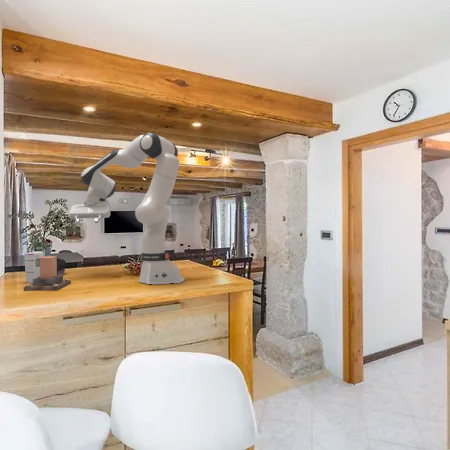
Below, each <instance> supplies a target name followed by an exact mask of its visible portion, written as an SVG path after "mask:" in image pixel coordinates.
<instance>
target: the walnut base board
mask: <svg viewBox="0 0 450 450" xmlns="http://www.w3.org/2000/svg"><path fill="white" fill-rule="evenodd" d="M71 284H72V281H71V280H70V278H65V279H64V274H63V275H57V277H55V278H53V279H40V277H37V278H34V279H33V283H28V284H25V285H24V287H23V292H27V291H29V292H32V291H34V292H35V291H36V292H37V291H38V292H39V291H43V292H44V291H60V290H61V289H63V288H65V287H67V286H69V285H71Z"/></svg>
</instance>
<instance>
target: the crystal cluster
mask: <svg viewBox="0 0 450 450" xmlns="http://www.w3.org/2000/svg"><path fill="white" fill-rule="evenodd" d="M66 267H67V261H66V260H65V259H64V258H62V259H61V258H59V257H57V275H63V276H64V274H65V271H66Z"/></svg>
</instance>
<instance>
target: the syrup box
mask: <svg viewBox="0 0 450 450" xmlns="http://www.w3.org/2000/svg"><path fill="white" fill-rule="evenodd" d="M44 255H45V253H44V251H41V250H39V251H36V250H35V251H29V252H25V253H24V270H25V271H24V272H25V283H28V284H33V279H34V278H37V277H40V258H41V257H45V256H44Z"/></svg>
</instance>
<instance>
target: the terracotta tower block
mask: <svg viewBox="0 0 450 450" xmlns="http://www.w3.org/2000/svg"><path fill="white" fill-rule="evenodd" d="M57 258H58V256H54V255H53V256H51V255H50V256H49V255H47V256H44V257H41V258H40V279H53V278H55V277H57Z"/></svg>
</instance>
